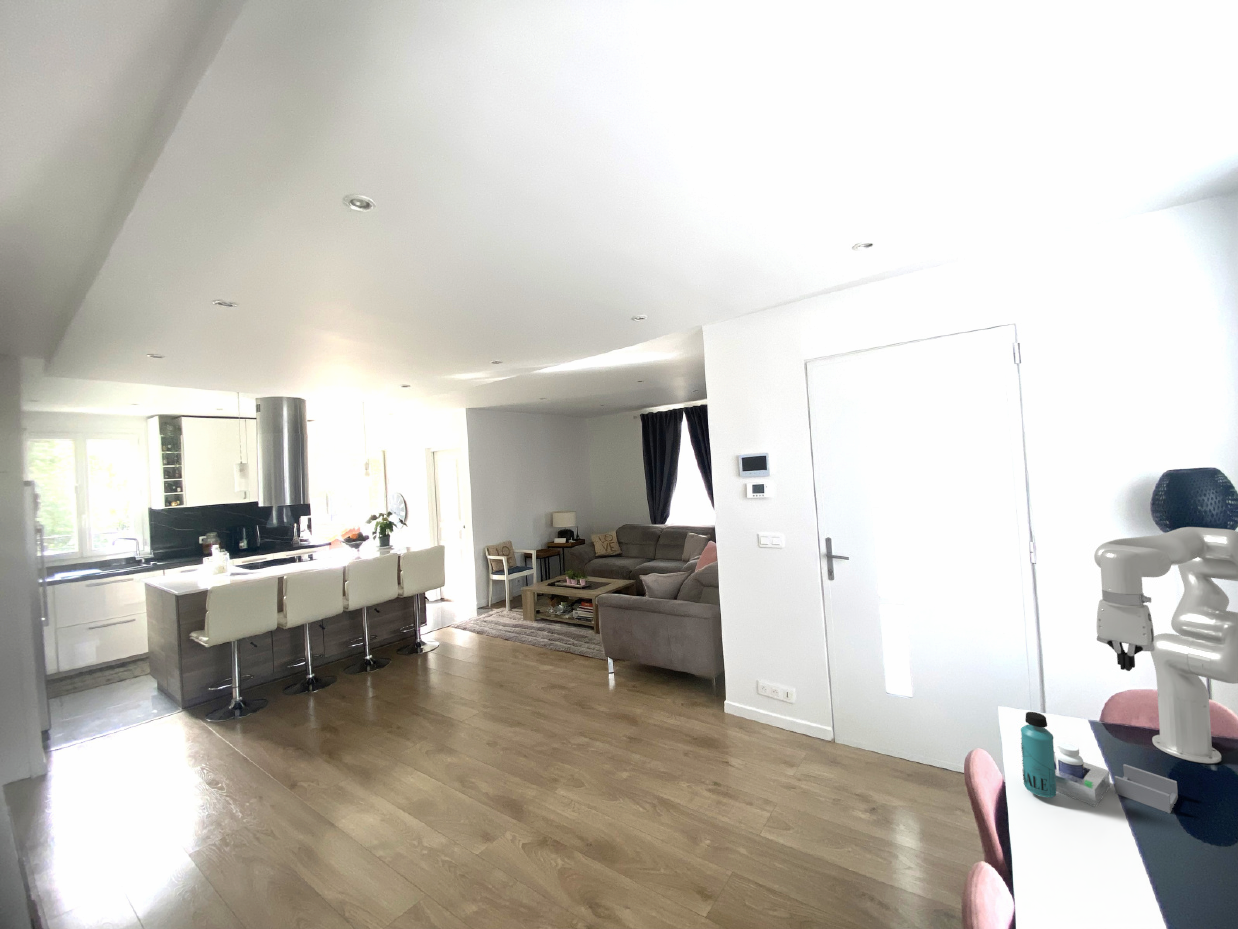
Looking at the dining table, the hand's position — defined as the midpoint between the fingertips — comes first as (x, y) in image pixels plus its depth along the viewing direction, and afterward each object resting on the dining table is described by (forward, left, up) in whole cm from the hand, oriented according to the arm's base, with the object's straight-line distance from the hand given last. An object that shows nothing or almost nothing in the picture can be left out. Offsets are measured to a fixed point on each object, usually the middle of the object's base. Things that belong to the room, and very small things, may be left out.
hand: (1126, 668), depth 130 cm
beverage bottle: (+28, -11, -27) cm, 41 cm away
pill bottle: (+17, -8, -27) cm, 33 cm away
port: (+17, -8, -27) cm, 33 cm away
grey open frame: (+9, +4, -27) cm, 29 cm away
